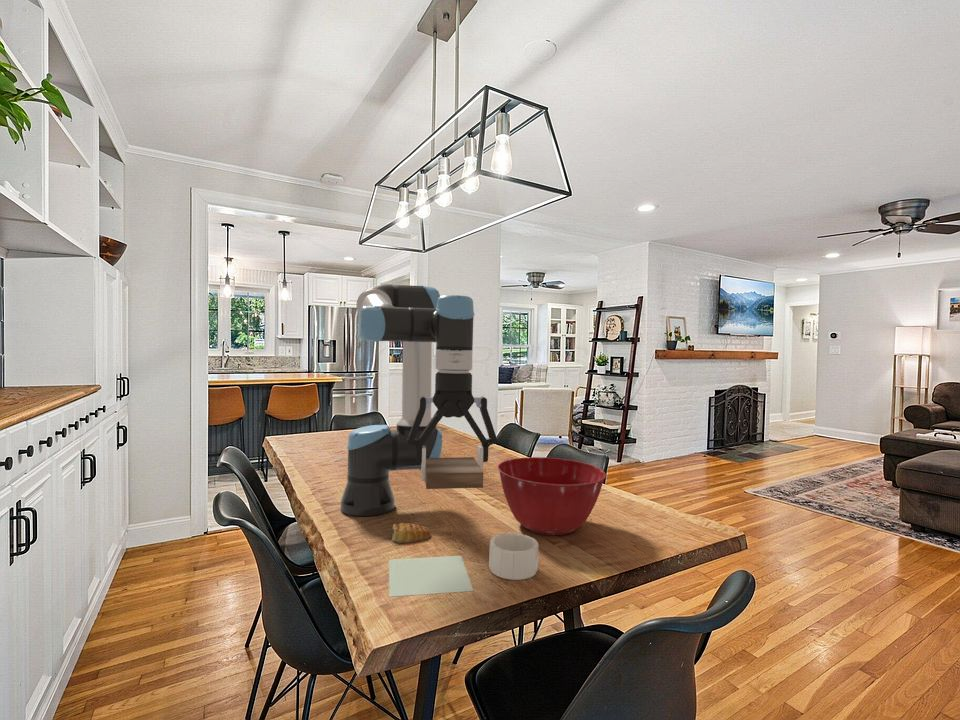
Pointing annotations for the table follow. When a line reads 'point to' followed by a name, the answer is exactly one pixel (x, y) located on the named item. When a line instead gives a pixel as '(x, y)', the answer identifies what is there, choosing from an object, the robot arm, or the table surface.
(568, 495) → the mixing bowl
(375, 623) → the table surface
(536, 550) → the bowl
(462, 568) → the mat
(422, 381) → the robot arm
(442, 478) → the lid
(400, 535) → the pastry
